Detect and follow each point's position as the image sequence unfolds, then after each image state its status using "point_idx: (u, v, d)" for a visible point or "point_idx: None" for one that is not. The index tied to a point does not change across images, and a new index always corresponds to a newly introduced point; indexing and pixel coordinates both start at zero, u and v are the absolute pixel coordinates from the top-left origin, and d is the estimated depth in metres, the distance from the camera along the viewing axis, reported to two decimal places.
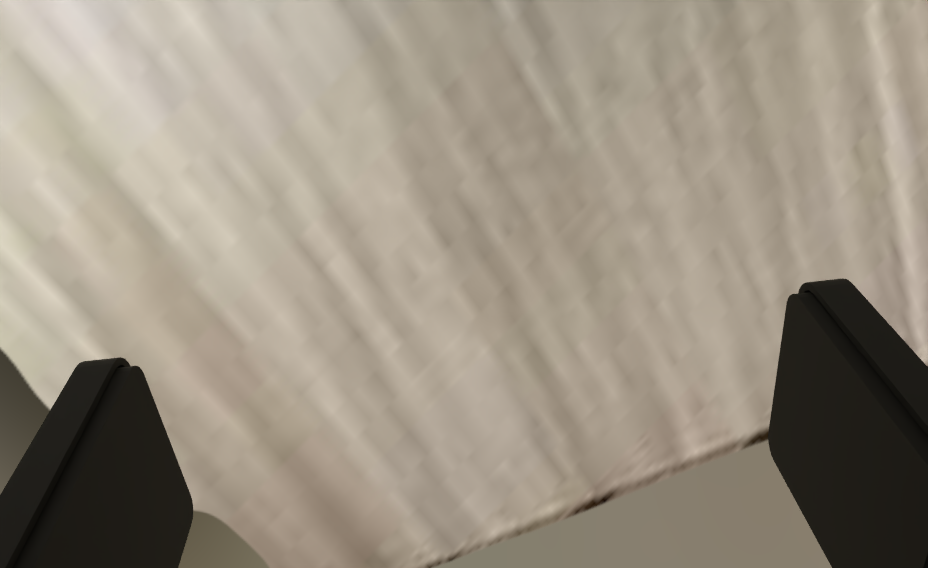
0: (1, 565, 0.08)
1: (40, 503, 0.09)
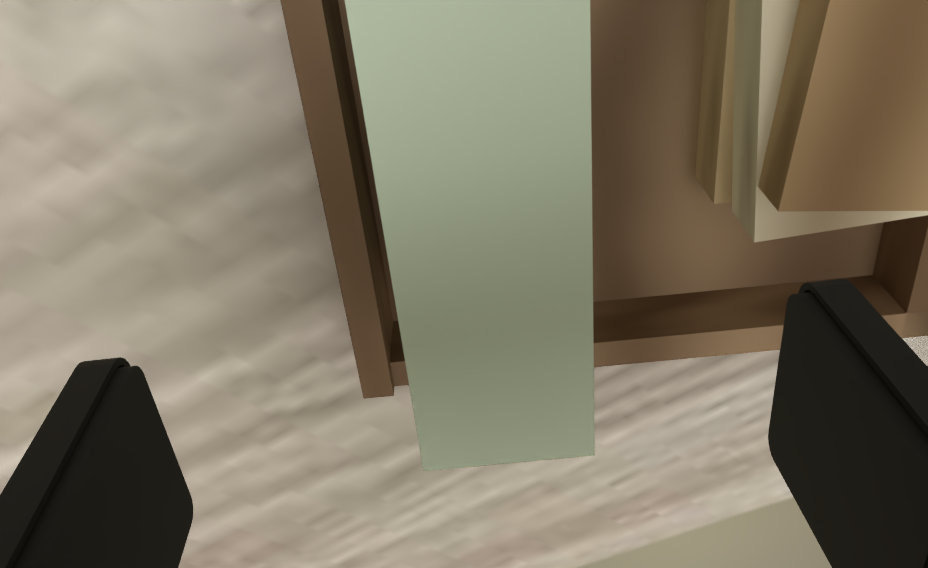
0: (1, 565, 0.08)
1: (41, 504, 0.09)
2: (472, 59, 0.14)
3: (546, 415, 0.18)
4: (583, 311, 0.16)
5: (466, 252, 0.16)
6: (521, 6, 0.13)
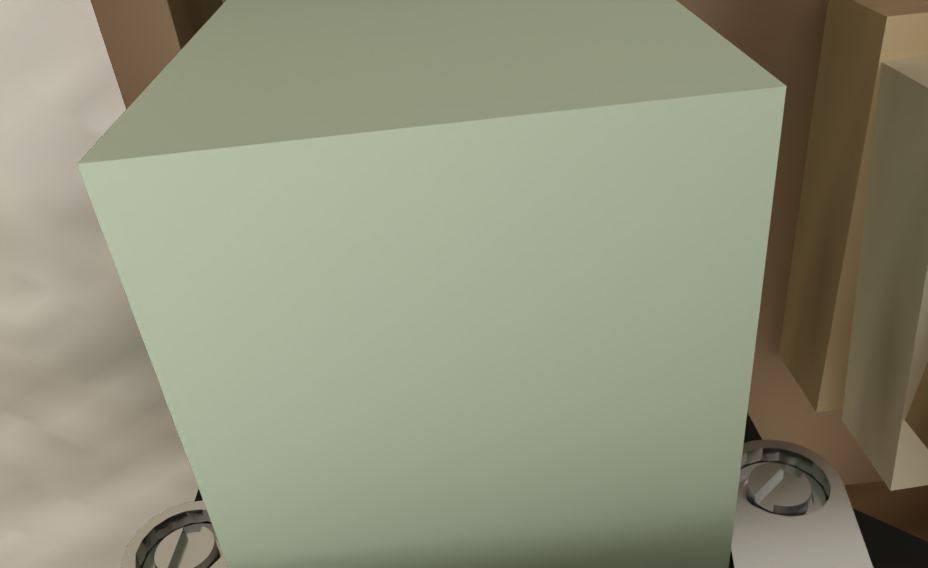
0: None
1: None
2: (470, 455, 0.06)
3: None
4: None
5: None
6: (587, 356, 0.05)
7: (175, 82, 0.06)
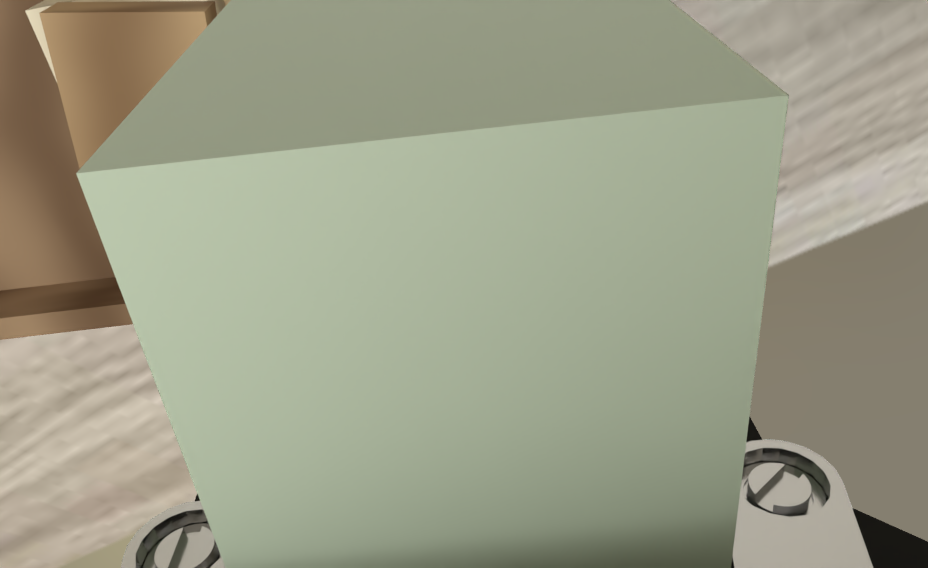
0: None
1: None
2: (470, 462, 0.06)
3: None
4: None
5: None
6: (589, 363, 0.05)
7: (175, 89, 0.06)
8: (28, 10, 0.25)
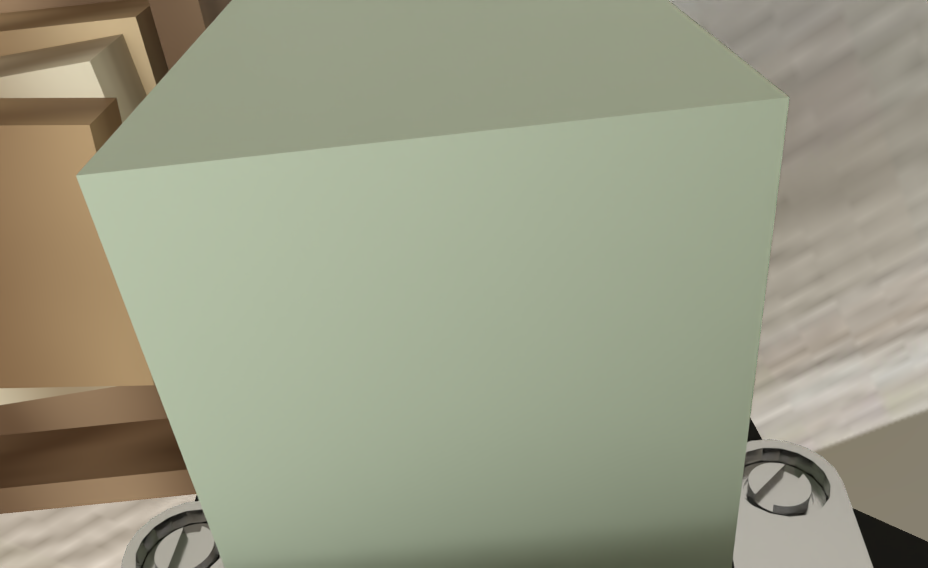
0: None
1: None
2: (472, 465, 0.06)
3: None
4: None
5: None
6: (590, 366, 0.05)
7: (175, 91, 0.06)
8: None
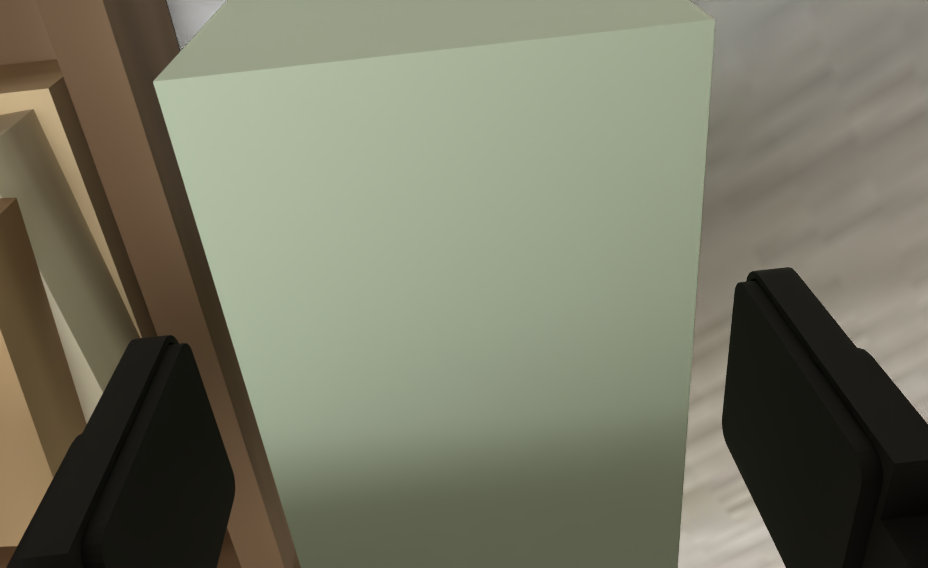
0: (75, 525, 0.08)
1: (105, 470, 0.09)
2: (466, 339, 0.07)
3: None
4: None
5: None
6: (561, 248, 0.07)
7: (221, 28, 0.07)
8: None
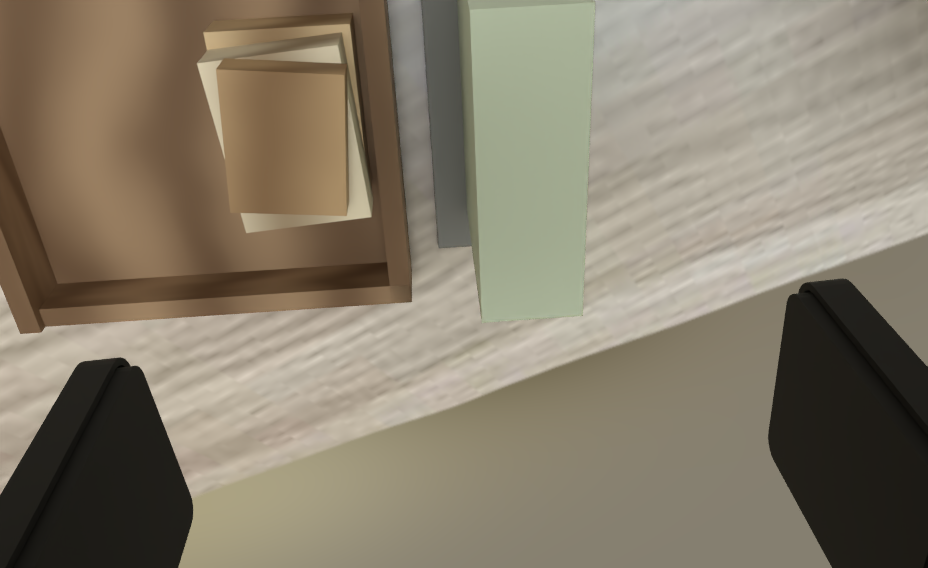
0: (1, 565, 0.08)
1: (41, 504, 0.09)
2: (532, 83, 0.27)
3: (556, 288, 0.31)
4: (580, 224, 0.30)
5: (519, 187, 0.29)
6: (558, 58, 0.26)
7: None
8: (199, 63, 0.31)
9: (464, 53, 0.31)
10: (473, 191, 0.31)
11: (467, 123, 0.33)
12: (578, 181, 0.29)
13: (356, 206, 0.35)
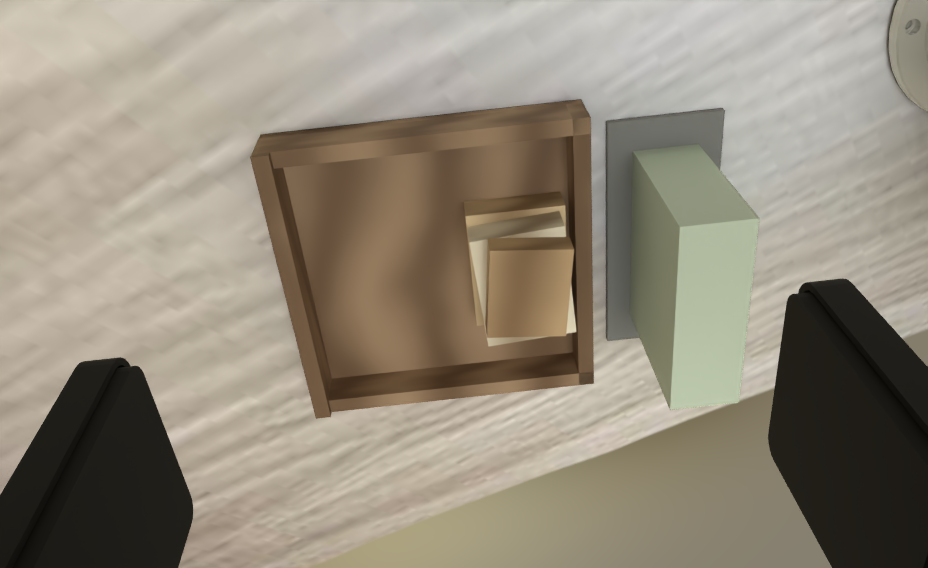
0: (1, 565, 0.08)
1: (41, 504, 0.09)
2: (716, 265, 0.41)
3: (722, 386, 0.46)
4: (741, 346, 0.44)
5: (702, 325, 0.43)
6: (733, 250, 0.41)
7: (675, 213, 0.41)
8: (470, 242, 0.46)
9: (652, 228, 0.46)
10: (661, 321, 0.46)
11: (650, 271, 0.47)
12: (741, 320, 0.43)
13: None
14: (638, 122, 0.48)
